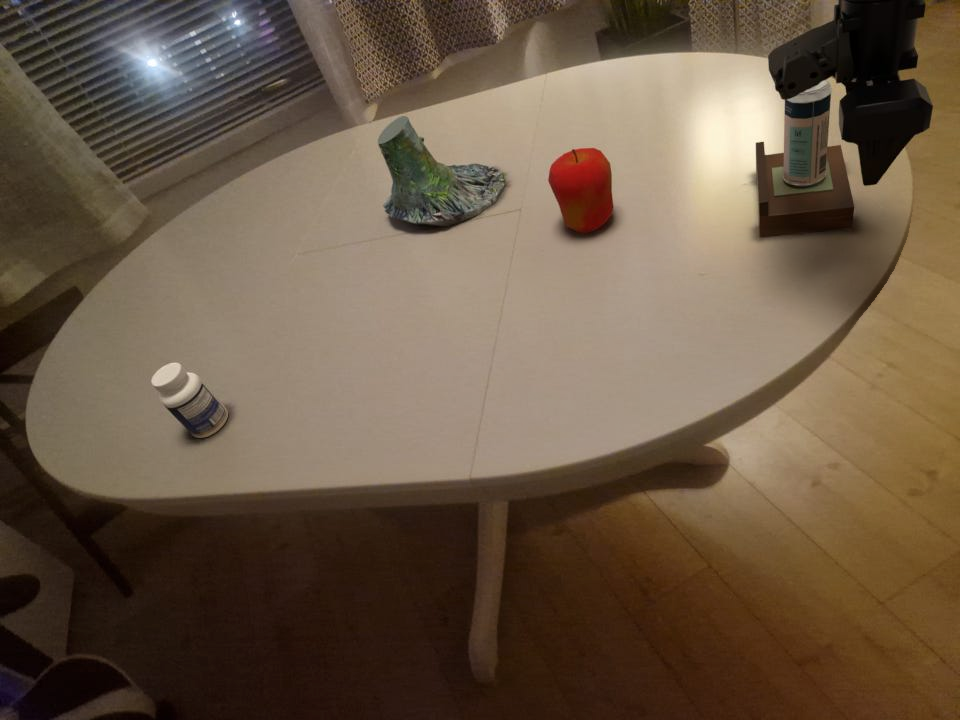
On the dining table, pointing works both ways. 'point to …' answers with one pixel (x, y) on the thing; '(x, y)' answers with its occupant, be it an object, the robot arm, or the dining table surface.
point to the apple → (583, 188)
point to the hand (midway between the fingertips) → (864, 158)
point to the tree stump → (433, 181)
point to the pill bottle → (189, 400)
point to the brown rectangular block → (802, 197)
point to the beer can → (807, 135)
